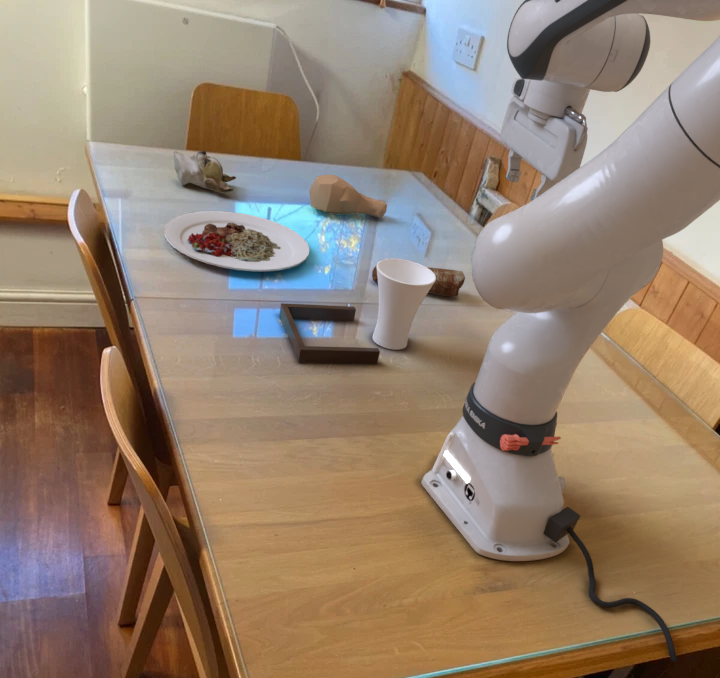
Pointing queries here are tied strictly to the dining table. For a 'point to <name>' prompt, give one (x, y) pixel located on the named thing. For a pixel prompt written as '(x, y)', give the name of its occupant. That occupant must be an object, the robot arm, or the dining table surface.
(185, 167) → the ceramic sculpture
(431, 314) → the dining table surface
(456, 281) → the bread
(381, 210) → the tan chicken drumstick
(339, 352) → the dark brown flat frame
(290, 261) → the plated food
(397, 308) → the cup
